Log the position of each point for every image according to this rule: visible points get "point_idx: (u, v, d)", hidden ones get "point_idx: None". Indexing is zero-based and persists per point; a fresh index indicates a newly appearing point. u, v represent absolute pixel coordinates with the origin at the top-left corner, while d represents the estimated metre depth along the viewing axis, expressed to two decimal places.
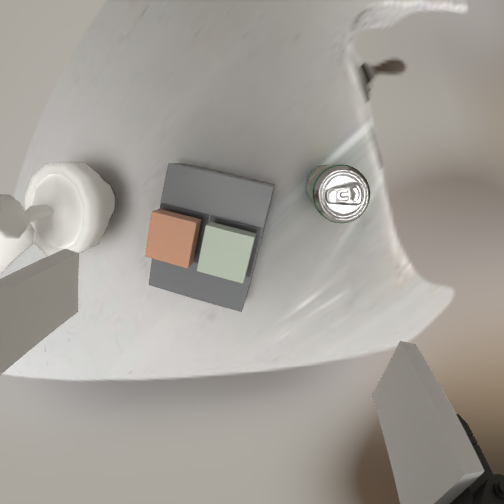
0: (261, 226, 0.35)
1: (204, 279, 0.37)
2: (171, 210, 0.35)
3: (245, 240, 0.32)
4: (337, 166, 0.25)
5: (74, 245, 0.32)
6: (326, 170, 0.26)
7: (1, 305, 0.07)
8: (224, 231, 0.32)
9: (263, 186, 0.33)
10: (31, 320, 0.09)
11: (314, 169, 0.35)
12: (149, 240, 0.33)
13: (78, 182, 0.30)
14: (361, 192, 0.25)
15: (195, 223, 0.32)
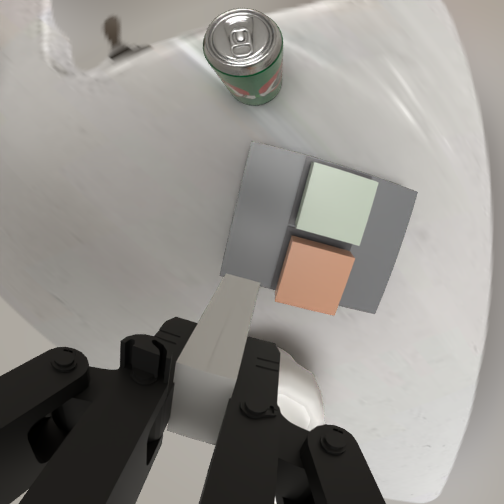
0: (304, 156, 0.25)
1: (373, 238, 0.26)
2: None
3: (318, 174, 0.22)
4: (204, 49, 0.17)
5: (307, 407, 0.25)
6: (210, 62, 0.17)
7: None
8: (305, 202, 0.23)
9: (251, 153, 0.25)
10: None
11: None
12: (313, 308, 0.25)
13: None
14: (236, 16, 0.15)
15: (293, 242, 0.23)
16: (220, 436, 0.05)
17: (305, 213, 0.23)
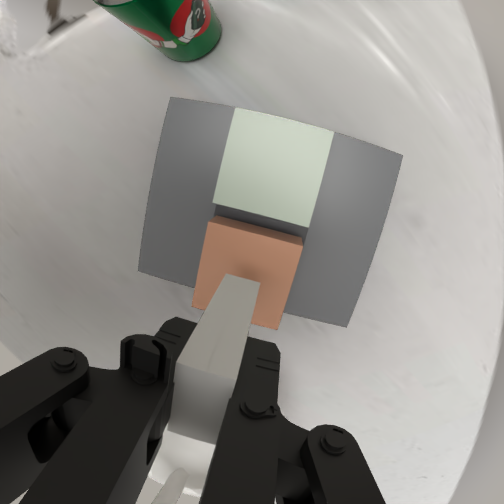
0: None
1: (340, 220, 0.19)
2: None
3: (241, 123, 0.15)
4: None
5: None
6: None
7: None
8: (223, 165, 0.15)
9: (169, 112, 0.18)
10: None
11: None
12: None
13: None
14: None
15: (209, 223, 0.16)
16: (220, 436, 0.05)
17: (224, 180, 0.16)
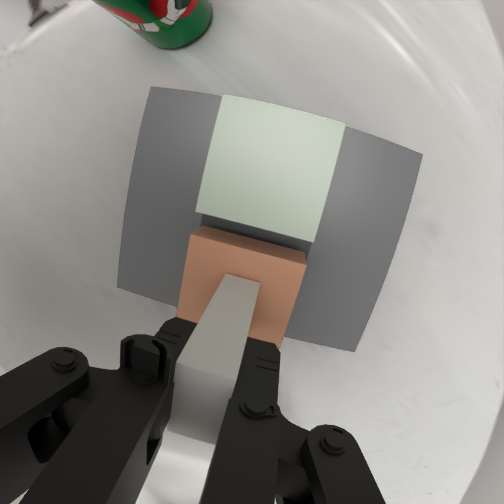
0: None
1: (349, 231, 0.16)
2: None
3: (230, 113, 0.12)
4: None
5: None
6: None
7: None
8: (208, 165, 0.12)
9: (149, 105, 0.15)
10: None
11: (144, 38, 0.17)
12: None
13: None
14: None
15: (192, 236, 0.13)
16: (220, 436, 0.05)
17: (209, 184, 0.13)
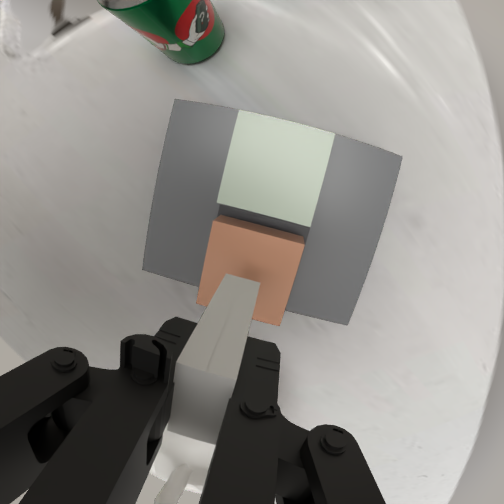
0: None
1: (341, 220, 0.19)
2: None
3: (244, 125, 0.15)
4: None
5: None
6: (99, 1, 0.11)
7: None
8: (227, 166, 0.16)
9: (174, 114, 0.19)
10: None
11: None
12: None
13: None
14: None
15: (214, 222, 0.17)
16: (220, 436, 0.05)
17: (228, 181, 0.16)
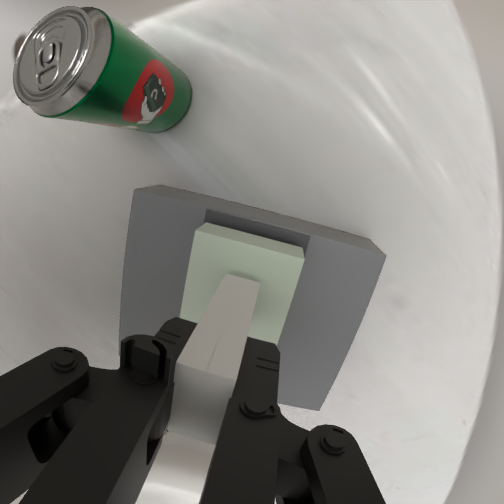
0: (204, 209, 0.17)
1: (313, 323, 0.18)
2: None
3: (202, 249, 0.14)
4: None
5: None
6: None
7: None
8: (186, 291, 0.15)
9: (134, 207, 0.18)
10: None
11: None
12: None
13: None
14: (50, 25, 0.08)
15: None
16: (220, 436, 0.05)
17: (188, 306, 0.15)
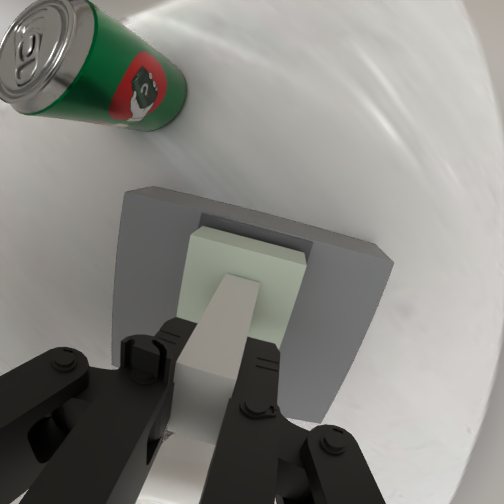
0: (199, 213, 0.16)
1: (316, 334, 0.17)
2: None
3: (198, 254, 0.13)
4: None
5: None
6: None
7: None
8: (182, 298, 0.14)
9: (125, 211, 0.17)
10: None
11: None
12: None
13: None
14: (31, 16, 0.07)
15: None
16: (220, 436, 0.05)
17: (184, 314, 0.14)
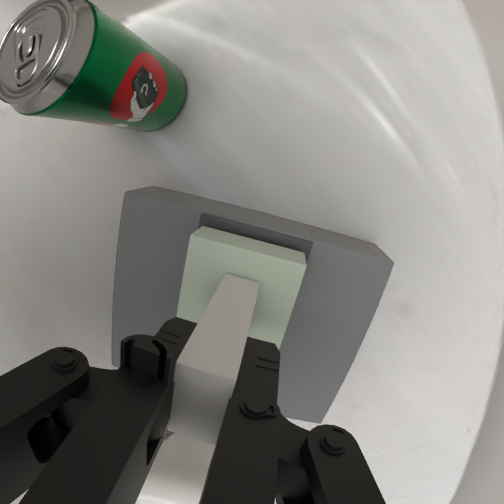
0: (199, 213, 0.16)
1: (316, 334, 0.17)
2: None
3: (198, 254, 0.13)
4: None
5: None
6: None
7: None
8: (182, 298, 0.14)
9: (125, 211, 0.17)
10: None
11: None
12: None
13: None
14: (31, 16, 0.07)
15: None
16: (220, 436, 0.05)
17: (184, 314, 0.14)
